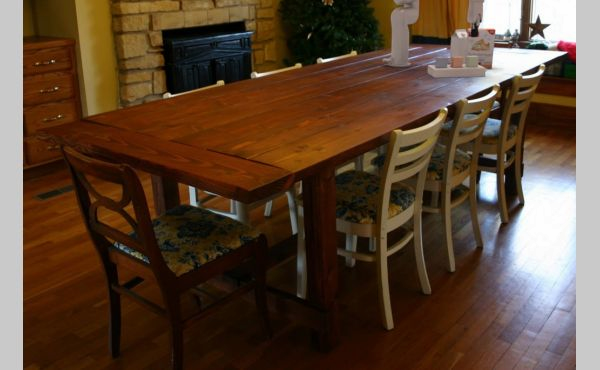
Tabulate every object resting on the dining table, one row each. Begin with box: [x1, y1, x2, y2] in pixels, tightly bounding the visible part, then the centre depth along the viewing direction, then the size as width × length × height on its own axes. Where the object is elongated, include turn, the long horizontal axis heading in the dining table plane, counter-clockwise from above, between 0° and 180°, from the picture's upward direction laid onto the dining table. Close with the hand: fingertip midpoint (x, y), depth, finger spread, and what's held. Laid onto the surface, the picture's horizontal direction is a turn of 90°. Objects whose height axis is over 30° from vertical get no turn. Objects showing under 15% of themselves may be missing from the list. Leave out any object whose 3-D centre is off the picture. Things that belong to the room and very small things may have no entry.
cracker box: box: [465, 27, 496, 70], centre depth 335 cm, size 14×6×21 cm, turn 82°
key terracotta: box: [449, 56, 463, 68], centre depth 319 cm, size 5×5×5 cm
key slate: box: [434, 56, 449, 68], centre depth 318 cm, size 5×5×5 cm
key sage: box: [466, 56, 479, 67], centre depth 319 cm, size 5×5×5 cm
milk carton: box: [449, 28, 468, 64], centre depth 350 cm, size 7×7×19 cm
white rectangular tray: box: [427, 64, 487, 79], centre depth 320 cm, size 26×14×4 cm, turn 94°
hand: (474, 37), depth 315 cm, fingers closed
